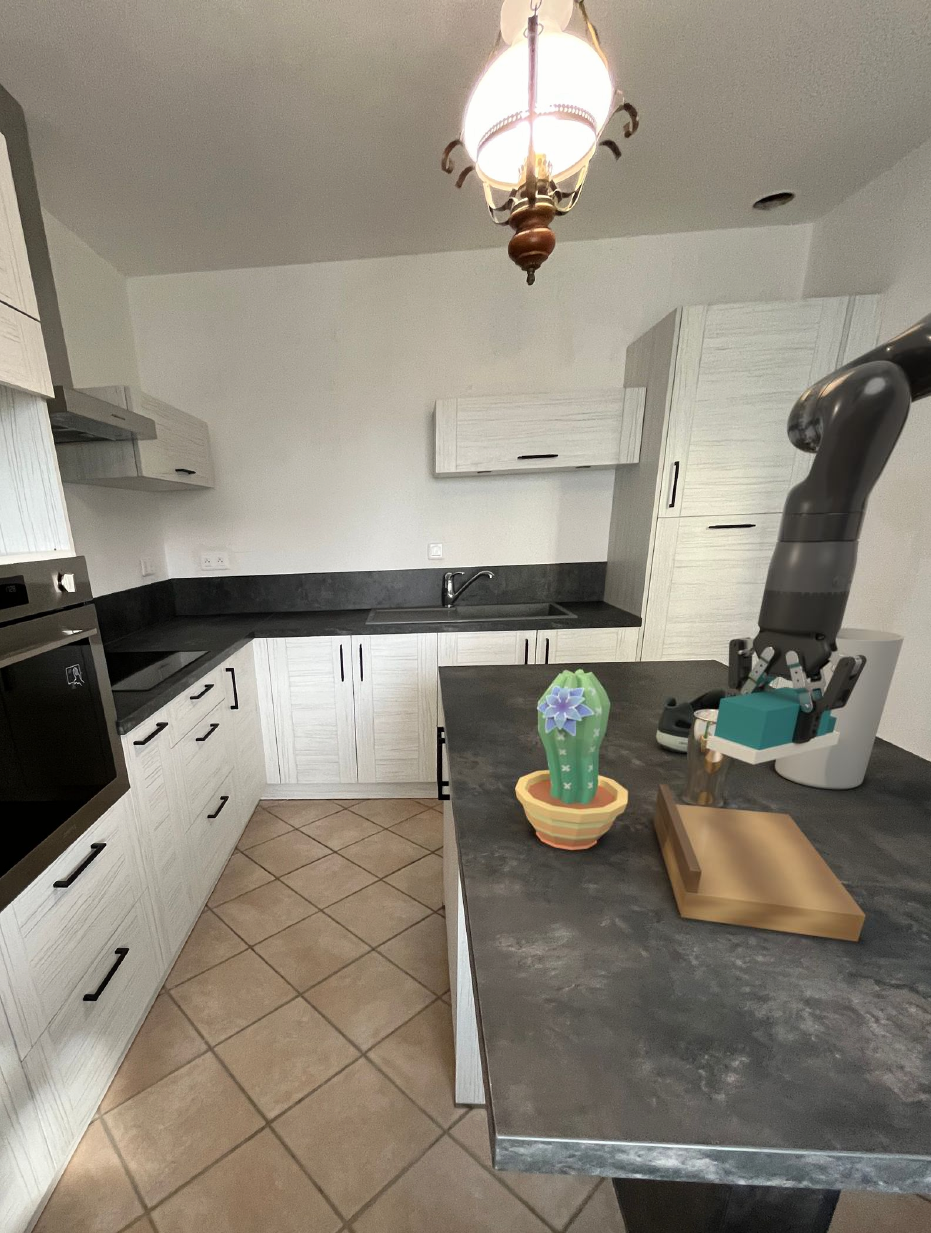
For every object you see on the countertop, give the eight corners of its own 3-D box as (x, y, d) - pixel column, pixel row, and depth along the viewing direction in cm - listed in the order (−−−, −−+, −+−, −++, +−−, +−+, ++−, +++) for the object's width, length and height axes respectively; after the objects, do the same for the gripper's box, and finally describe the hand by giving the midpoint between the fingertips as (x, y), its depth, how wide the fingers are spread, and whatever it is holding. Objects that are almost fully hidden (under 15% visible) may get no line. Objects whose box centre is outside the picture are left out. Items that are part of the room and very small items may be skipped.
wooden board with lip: (782, 839, 85) (793, 794, 82) (856, 946, 63) (873, 891, 61) (652, 826, 90) (659, 784, 87) (680, 922, 68) (690, 869, 66)
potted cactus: (492, 827, 91) (498, 667, 82) (573, 807, 96) (587, 655, 87) (557, 877, 78) (574, 693, 69) (647, 851, 83) (674, 676, 74)
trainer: (786, 729, 75) (797, 683, 73) (837, 744, 70) (850, 695, 68) (705, 747, 70) (714, 699, 68) (753, 764, 65) (764, 712, 63)
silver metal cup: (706, 816, 92) (723, 725, 86) (668, 799, 98) (682, 712, 92) (736, 807, 94) (755, 717, 89) (697, 791, 100) (713, 706, 95)
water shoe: (808, 745, 118) (822, 688, 114) (683, 763, 112) (693, 704, 108) (763, 729, 128) (775, 677, 124) (646, 745, 121) (653, 690, 117)
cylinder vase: (818, 795, 97) (858, 643, 88) (757, 767, 109) (786, 630, 100) (881, 786, 99) (925, 637, 91) (814, 760, 111) (848, 625, 102)
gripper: (906, 588, 58) (861, 748, 64) (766, 579, 71) (740, 713, 77) (857, 593, 56) (815, 759, 62) (721, 583, 68) (697, 722, 74)
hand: (773, 733), depth 69 cm, fingers closed on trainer, 5 cm apart
